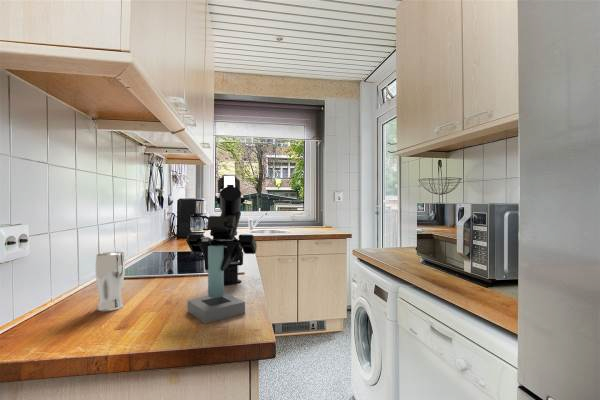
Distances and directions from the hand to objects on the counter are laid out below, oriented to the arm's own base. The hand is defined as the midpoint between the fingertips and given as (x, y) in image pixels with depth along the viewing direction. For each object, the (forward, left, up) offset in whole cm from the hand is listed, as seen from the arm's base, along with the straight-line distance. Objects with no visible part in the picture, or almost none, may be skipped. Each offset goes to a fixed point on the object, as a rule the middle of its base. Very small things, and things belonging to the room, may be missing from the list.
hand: (213, 269), depth 83 cm
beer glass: (-23, -20, -12) cm, 33 cm away
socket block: (-1, +1, -12) cm, 12 cm away
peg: (-1, +1, -7) cm, 7 cm away
